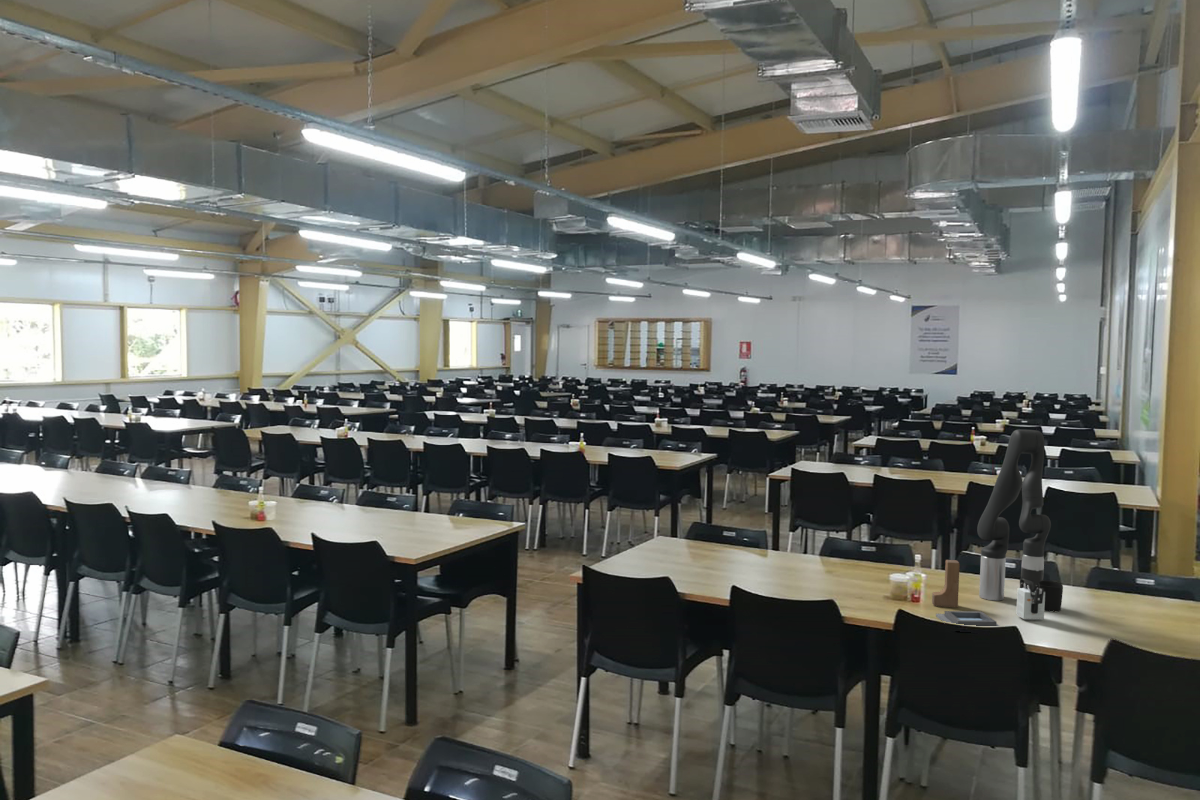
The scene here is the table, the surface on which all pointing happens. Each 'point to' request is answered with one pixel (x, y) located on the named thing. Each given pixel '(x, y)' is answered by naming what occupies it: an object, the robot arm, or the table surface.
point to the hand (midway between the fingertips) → (1030, 610)
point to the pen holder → (1052, 595)
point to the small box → (1028, 605)
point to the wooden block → (948, 586)
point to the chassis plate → (967, 618)
